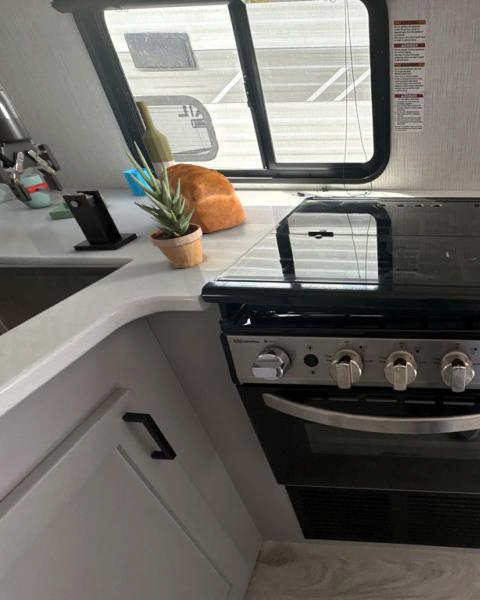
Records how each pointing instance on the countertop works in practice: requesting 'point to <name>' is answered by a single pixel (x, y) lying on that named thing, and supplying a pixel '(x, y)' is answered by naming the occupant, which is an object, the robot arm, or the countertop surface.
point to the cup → (37, 197)
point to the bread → (206, 197)
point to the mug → (132, 184)
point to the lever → (54, 192)
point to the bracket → (95, 223)
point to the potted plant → (170, 219)
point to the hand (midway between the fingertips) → (42, 196)
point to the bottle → (155, 142)
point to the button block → (63, 211)
